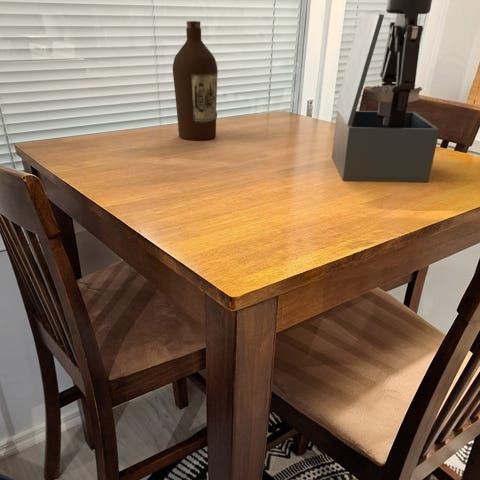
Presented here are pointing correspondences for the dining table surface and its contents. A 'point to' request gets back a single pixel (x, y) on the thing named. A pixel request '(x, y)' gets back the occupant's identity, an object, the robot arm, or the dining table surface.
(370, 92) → the showerhead
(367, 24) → the lid
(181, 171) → the dining table surface
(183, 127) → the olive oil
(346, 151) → the chest
